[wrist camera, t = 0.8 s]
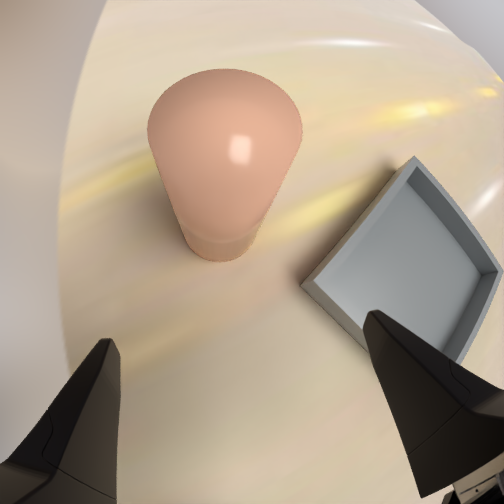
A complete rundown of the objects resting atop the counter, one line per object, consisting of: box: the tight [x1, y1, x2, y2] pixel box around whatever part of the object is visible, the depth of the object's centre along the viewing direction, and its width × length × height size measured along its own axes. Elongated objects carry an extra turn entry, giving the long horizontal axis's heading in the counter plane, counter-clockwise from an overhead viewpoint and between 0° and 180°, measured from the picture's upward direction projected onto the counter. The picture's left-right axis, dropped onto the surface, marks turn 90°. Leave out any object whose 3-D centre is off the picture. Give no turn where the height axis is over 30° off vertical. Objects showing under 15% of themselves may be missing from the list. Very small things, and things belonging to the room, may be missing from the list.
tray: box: [300, 156, 503, 365], centre depth 24 cm, size 16×16×4 cm
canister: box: [147, 69, 303, 262], centre depth 17 cm, size 6×6×14 cm
